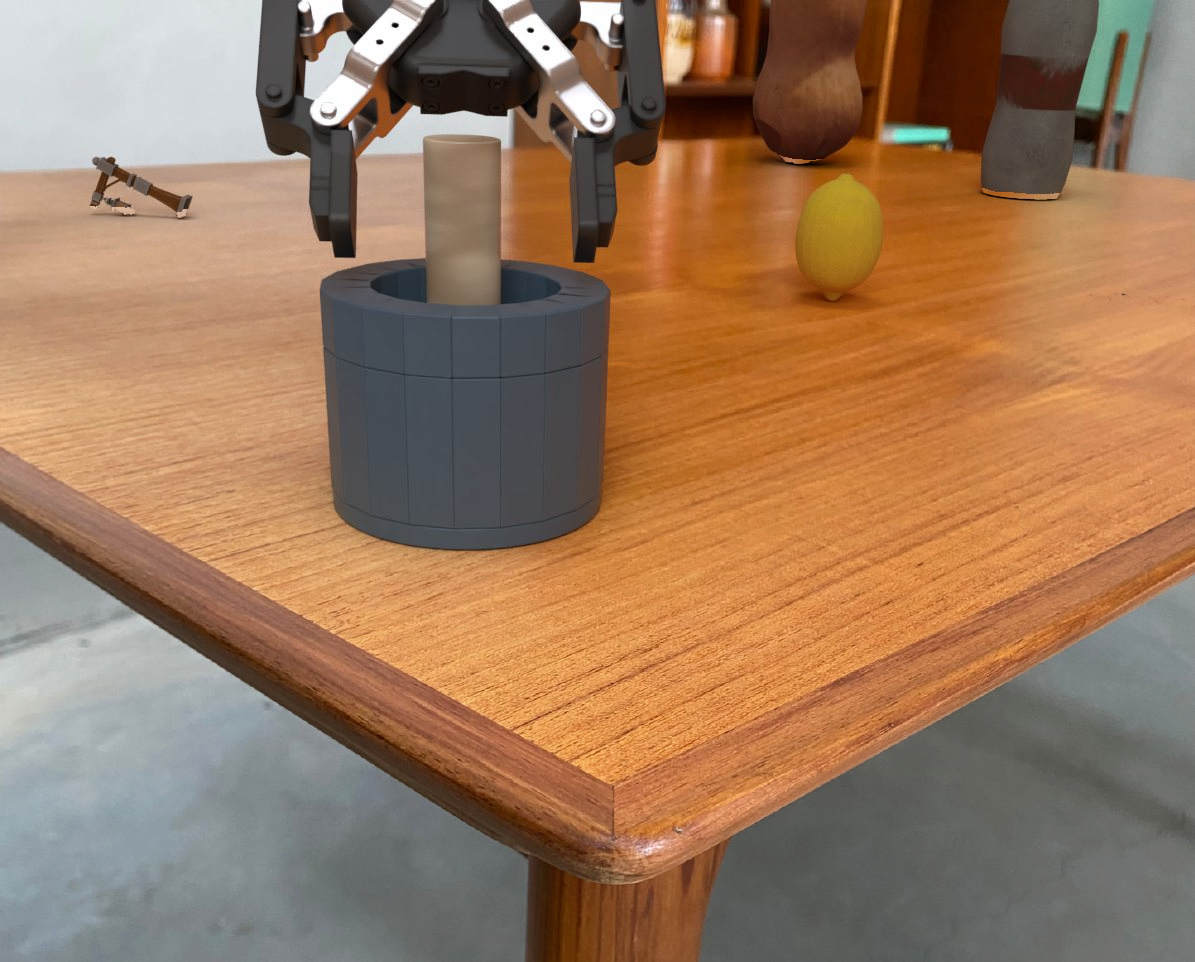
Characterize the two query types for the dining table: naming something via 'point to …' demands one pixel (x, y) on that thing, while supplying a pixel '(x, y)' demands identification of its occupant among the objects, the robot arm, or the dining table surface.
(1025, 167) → the grey vase with band
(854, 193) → the lemon
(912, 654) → the dining table surface
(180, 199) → the wooden post with brackets
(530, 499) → the grey paneled mortar
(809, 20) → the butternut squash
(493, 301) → the tan cylinder
